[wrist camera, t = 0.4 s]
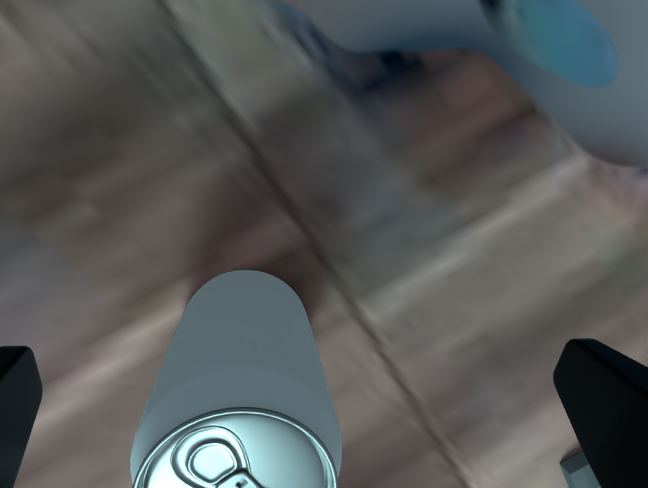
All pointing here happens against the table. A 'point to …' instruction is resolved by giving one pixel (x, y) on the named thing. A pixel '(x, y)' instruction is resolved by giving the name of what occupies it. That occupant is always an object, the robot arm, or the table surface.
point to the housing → (579, 472)
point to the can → (240, 395)
